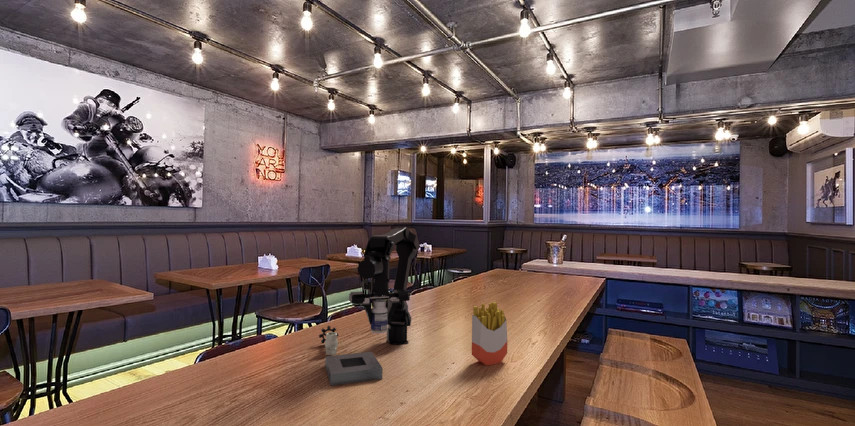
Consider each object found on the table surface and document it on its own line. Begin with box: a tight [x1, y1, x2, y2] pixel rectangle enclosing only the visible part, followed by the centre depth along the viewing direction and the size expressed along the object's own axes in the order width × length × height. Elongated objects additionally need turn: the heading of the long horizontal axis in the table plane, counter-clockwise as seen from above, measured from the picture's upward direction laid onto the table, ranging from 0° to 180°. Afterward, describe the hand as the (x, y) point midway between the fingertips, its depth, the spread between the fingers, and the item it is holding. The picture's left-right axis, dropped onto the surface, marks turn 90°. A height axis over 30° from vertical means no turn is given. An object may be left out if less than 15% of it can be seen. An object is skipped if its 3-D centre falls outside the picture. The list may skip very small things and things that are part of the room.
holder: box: [324, 351, 383, 387], centre depth 111 cm, size 14×14×3 cm
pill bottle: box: [370, 299, 388, 334], centre depth 124 cm, size 5×5×10 cm
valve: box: [318, 325, 339, 356], centre depth 130 cm, size 7×7×12 cm
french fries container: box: [471, 301, 508, 366], centre depth 121 cm, size 5×11×18 cm, turn 119°
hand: (379, 323), depth 124 cm, fingers closed on pill bottle, 5 cm apart
